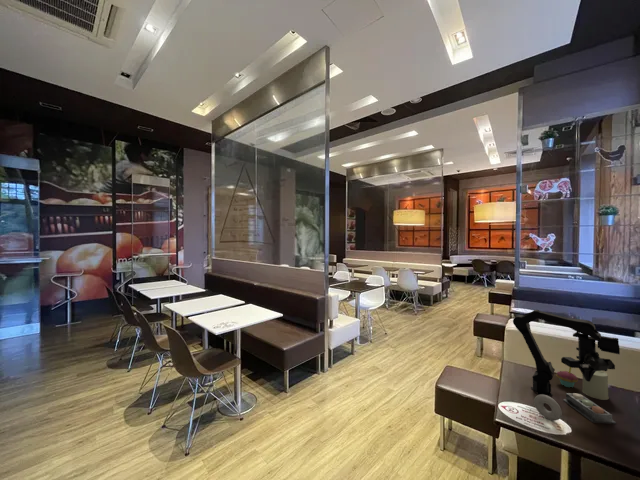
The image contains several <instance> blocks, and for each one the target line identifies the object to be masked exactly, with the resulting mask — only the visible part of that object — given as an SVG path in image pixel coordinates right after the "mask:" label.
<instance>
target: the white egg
mask: <svg viewBox="0 0 640 480" xmlns="http://www.w3.org/2000/svg"><path fill="white" fill-rule="evenodd" d="M580 394H581V393H575V392H573V397H574V398H575V399H580V400H582V399H584V398H583V396H584V395H583V396H582V394H581V395H580Z"/></svg>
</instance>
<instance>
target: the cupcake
mask: <svg viewBox="0 0 640 480" xmlns="http://www.w3.org/2000/svg"><path fill="white" fill-rule="evenodd" d="M555 376H556V377H557V378H558V379H559V381H560V384H561V385H562V386H563V385H564V386H563V387H566V388H570V387H572V388H574V386H575V384H576V383H578V381H579V379H578V377H577V376H576V375H575V374H574V373H573V372H572V368H571V367H569V370H568V371H567V370H559V371H557V372H556V375H555Z"/></svg>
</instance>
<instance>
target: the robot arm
mask: <svg viewBox="0 0 640 480" xmlns="http://www.w3.org/2000/svg"><path fill="white" fill-rule="evenodd" d="M536 320H541V321H545V322H549V323H552V324H556V325H559V326H564V327H566V328H569V329H571V330H573V331H575V332H574V333H572V337H574V338H577V339H578V342H577V343H578V346H577V347H576V351H578V355H576V357H575V358H573V357H571V356H562V357H561V360H560V361H561V363H562V364H564V365H565V366H567V367H569V368H570V367H571V369H573V368H574V369H579V370H580V372H581V374H583V376H584V378H585V380H586V381H588V382H590V380H591V378H592V376H593V374H594V373H595V372H596V371H603V372H607V371H608V370H616V365H615V364H614V362H613V360H611V359H610V358H602V357H600V355H599V352H597V349H599V350H601V352H604V353H605V352H606V353H610V354H614V355H615V354H616V355H620V353H621V351H620V350H621V349H620V344H619V338H617V337H611V336H610V337H609V336H603V335H602V334H601V333H600V332H599V331H598V330H597V329H596V326H595V323H593V321H590V320H588V319H581V318H570V317H569V318H568V317H565V316H561V315H557V314H554V313H553V314H552V313H550V312H545V311H541V310H539V309H534V310H532V311H530V312H527V313H525V314H517V315H516V316H515V317H514V318H513V320H512V323H513V325H514V327H515V328H516V330H517V331H518V332H519V333H520V334H521V335H522V338H523V340H524V341H525V344H526V345H527V348H528V349H529V352H530V354H531V356H532V357H533V360H534V362H535V369H536V371H535V372H534V374H533V375H532V386H530V389H531V390H533V391H534V392H535V393H537V395H540V394H542V395H547V396H553V395H554V394H553V393H552V383H551V381H552V380H553V378H554V376H555V370H556V369H555V368H554V366H553V363H552V362H551V361H547V360H546V359H545V358H544V355H543V354H542V351H541V349H540V347H539V345H538V343H537V341H536V340H535V337H534V335H533V333H532V331H531V325H530V323H531V322H533V321H536ZM596 342H597V349H596ZM583 376H582V377H583Z"/></svg>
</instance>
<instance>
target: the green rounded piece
mask: <svg viewBox="0 0 640 480" xmlns="http://www.w3.org/2000/svg"><path fill="white" fill-rule="evenodd" d="M589 400H590V399H589ZM589 400H586V399H582V403H583V404H584V405H585V406H593V403H594V401H592V400H590V401H589ZM591 401H592V402H591Z"/></svg>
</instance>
